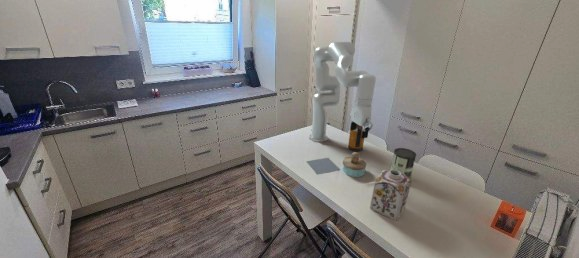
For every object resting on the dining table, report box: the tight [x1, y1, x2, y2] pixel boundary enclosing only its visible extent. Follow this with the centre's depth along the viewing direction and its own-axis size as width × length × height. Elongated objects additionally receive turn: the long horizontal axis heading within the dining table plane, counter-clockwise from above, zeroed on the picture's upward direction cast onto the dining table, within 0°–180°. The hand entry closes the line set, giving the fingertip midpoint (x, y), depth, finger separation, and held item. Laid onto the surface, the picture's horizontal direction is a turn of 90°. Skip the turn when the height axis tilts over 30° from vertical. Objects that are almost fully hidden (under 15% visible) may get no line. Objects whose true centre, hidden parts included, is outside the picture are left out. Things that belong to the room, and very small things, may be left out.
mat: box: [306, 157, 341, 175], centre depth 138 cm, size 14×14×1 cm
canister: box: [347, 124, 365, 152], centre depth 154 cm, size 9×11×20 cm
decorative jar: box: [369, 169, 412, 222], centre depth 104 cm, size 12×12×18 cm
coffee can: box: [390, 147, 417, 180], centre depth 128 cm, size 10×10×14 cm
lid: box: [342, 151, 367, 170], centre depth 130 cm, size 12×12×6 cm
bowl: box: [342, 165, 366, 178], centre depth 132 cm, size 11×11×5 cm
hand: (358, 133), depth 125 cm, fingers open, 9 cm apart
